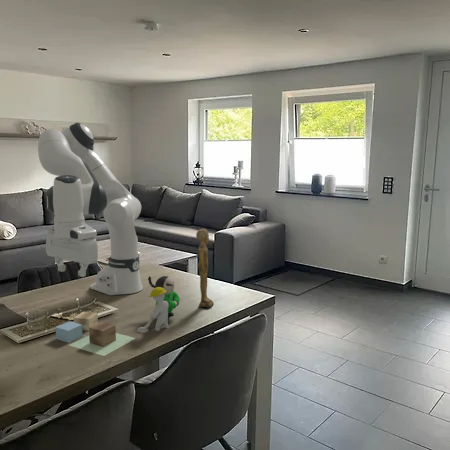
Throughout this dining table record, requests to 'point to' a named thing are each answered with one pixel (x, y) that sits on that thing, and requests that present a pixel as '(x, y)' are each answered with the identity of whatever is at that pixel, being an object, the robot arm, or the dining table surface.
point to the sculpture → (203, 267)
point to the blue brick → (69, 331)
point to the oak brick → (86, 319)
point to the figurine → (158, 310)
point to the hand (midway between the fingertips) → (71, 273)
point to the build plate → (99, 350)
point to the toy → (167, 292)
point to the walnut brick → (102, 334)
